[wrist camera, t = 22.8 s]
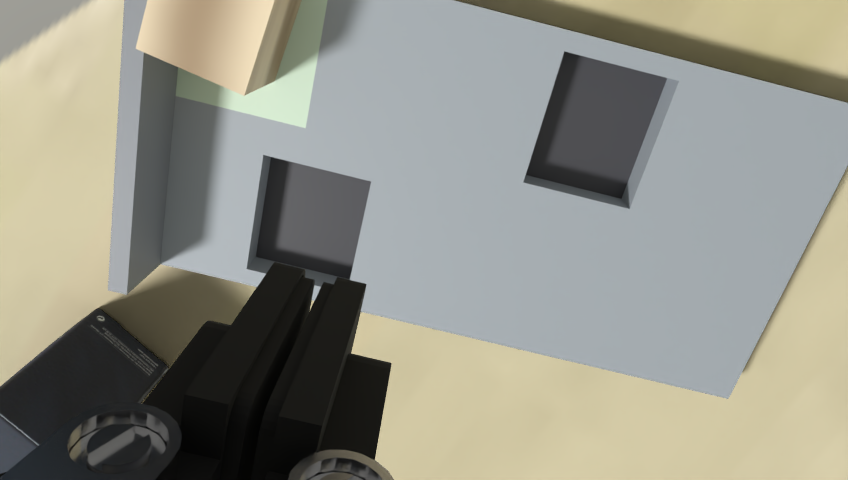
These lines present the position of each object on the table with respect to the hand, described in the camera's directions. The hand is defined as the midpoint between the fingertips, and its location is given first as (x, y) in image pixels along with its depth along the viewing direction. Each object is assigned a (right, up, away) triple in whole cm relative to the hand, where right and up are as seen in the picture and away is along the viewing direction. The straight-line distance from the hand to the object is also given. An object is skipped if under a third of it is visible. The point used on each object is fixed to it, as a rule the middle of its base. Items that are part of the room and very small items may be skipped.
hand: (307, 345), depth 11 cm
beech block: (-7, +13, +20) cm, 25 cm away
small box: (-21, -7, +31) cm, 38 cm away
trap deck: (+5, +5, +25) cm, 26 cm away
